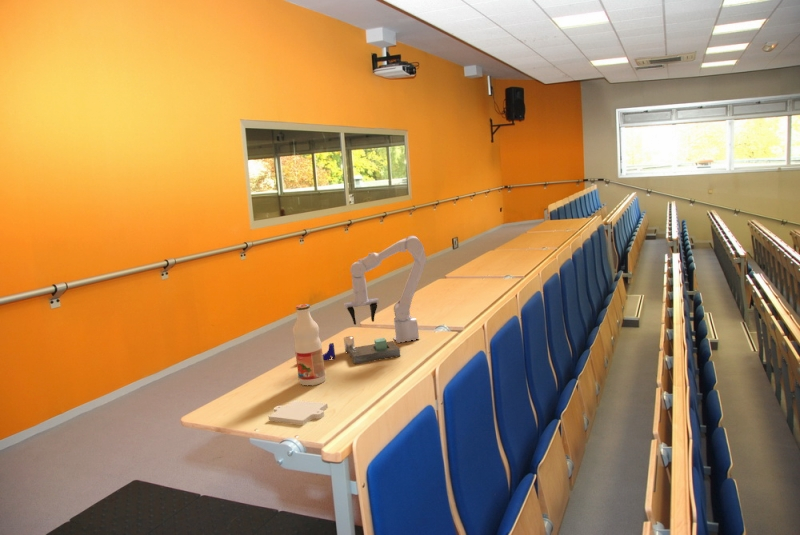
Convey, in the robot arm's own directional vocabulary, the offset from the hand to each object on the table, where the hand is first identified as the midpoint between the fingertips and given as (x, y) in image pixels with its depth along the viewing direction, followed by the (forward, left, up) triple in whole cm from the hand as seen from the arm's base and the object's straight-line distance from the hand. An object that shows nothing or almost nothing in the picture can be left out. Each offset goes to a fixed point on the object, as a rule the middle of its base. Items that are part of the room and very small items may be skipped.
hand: (363, 322), depth 255 cm
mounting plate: (+33, +63, -10) cm, 72 cm away
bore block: (0, +18, -9) cm, 20 cm away
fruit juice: (+26, +35, -10) cm, 45 cm away
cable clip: (+21, +11, -10) cm, 26 cm away
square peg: (-3, +18, -10) cm, 20 cm away
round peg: (+8, +7, -9) cm, 14 cm away
